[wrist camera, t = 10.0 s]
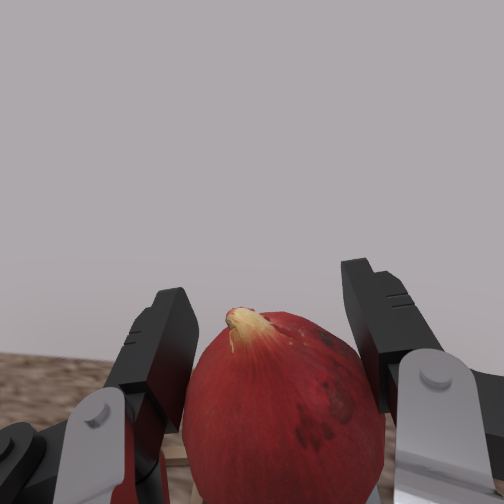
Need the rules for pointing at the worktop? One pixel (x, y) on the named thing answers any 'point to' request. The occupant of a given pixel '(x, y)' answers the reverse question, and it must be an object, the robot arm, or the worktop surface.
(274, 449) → the onion
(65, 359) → the worktop surface
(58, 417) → the worktop surface
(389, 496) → the worktop surface
